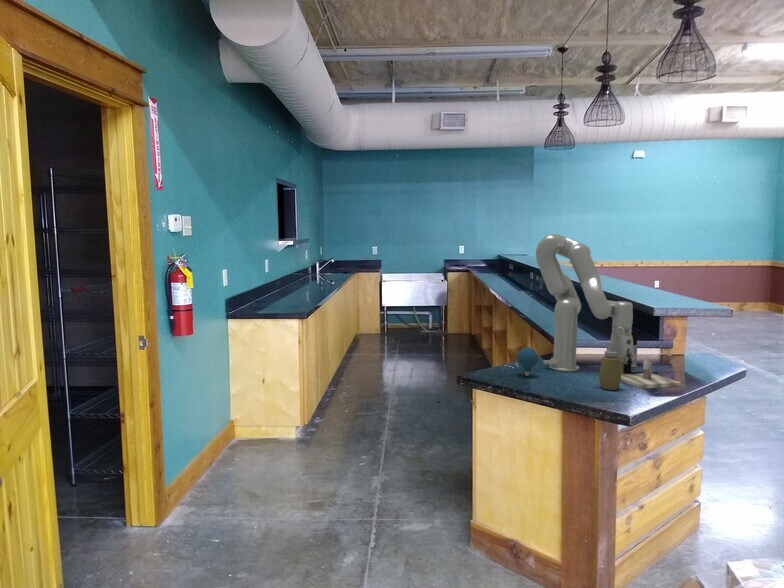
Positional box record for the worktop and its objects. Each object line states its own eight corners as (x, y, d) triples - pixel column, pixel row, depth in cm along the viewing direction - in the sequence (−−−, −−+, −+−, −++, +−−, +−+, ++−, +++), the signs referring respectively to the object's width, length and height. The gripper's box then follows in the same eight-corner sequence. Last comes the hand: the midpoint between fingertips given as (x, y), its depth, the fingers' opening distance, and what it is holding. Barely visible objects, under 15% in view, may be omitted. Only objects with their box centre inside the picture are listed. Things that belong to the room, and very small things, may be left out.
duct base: (641, 388, 211) (642, 364, 210) (614, 378, 226) (615, 355, 225) (680, 386, 215) (681, 362, 214) (651, 376, 231) (652, 354, 230)
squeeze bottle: (618, 392, 205) (621, 345, 203) (596, 389, 209) (598, 342, 208) (622, 387, 212) (624, 341, 210) (600, 384, 216) (602, 339, 215)
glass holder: (639, 365, 252) (641, 332, 250) (632, 371, 240) (634, 337, 239) (619, 362, 257) (620, 330, 255) (611, 368, 245) (613, 335, 244)
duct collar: (617, 376, 229) (618, 365, 228) (608, 373, 235) (609, 362, 234) (630, 376, 230) (630, 364, 230) (620, 372, 236) (621, 361, 236)
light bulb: (539, 375, 230) (540, 346, 229) (535, 379, 223) (536, 350, 222) (519, 372, 234) (520, 345, 233) (514, 377, 226) (515, 348, 225)
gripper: (643, 334, 223) (641, 375, 225) (616, 327, 240) (614, 365, 242) (627, 334, 221) (625, 376, 223) (601, 327, 238) (599, 366, 240)
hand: (619, 370), depth 232 cm, fingers open, 9 cm apart
